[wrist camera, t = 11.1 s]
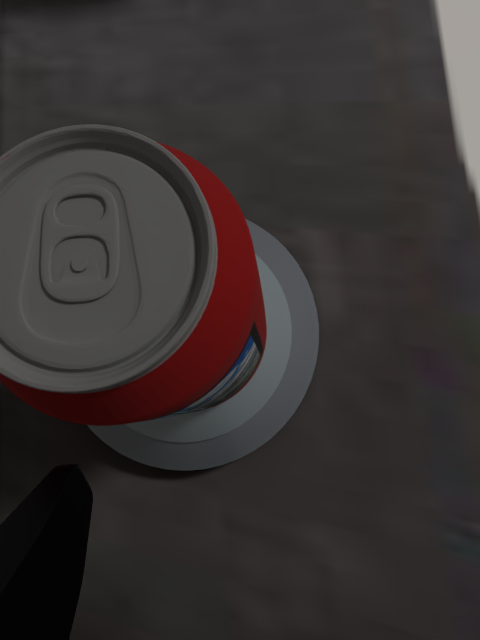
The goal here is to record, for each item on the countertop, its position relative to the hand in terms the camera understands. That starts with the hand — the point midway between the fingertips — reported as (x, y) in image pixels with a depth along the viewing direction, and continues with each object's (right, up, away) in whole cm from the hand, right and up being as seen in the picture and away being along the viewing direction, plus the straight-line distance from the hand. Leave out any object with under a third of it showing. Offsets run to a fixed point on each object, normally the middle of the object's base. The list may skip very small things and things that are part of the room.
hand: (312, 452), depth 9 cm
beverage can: (-3, +2, +12) cm, 13 cm away
